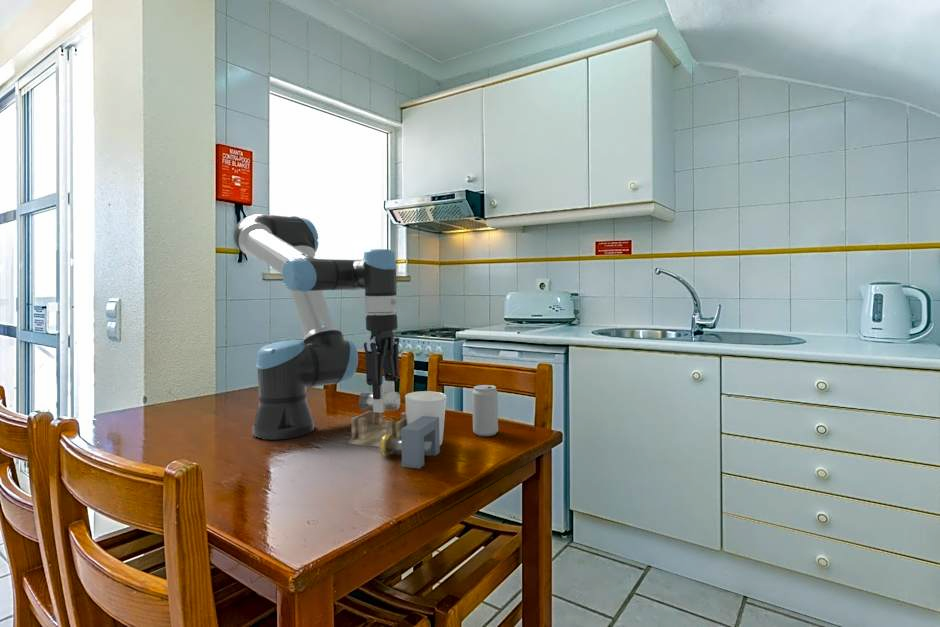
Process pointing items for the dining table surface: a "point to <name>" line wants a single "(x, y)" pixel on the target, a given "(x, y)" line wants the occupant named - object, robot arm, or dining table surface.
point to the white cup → (426, 407)
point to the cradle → (374, 428)
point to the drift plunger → (399, 445)
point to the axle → (390, 398)
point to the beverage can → (485, 410)
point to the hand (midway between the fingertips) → (384, 409)
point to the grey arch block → (419, 440)
